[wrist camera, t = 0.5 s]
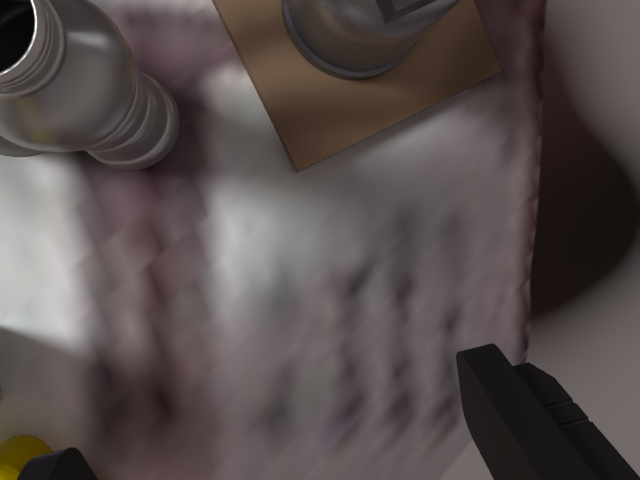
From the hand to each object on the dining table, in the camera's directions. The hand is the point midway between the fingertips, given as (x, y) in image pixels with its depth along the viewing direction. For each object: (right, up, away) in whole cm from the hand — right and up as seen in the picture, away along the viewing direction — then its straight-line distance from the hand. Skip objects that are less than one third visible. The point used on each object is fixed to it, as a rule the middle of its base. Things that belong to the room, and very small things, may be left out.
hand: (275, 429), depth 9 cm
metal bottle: (-12, +12, +23) cm, 29 cm away
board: (+3, +21, +25) cm, 33 cm away
